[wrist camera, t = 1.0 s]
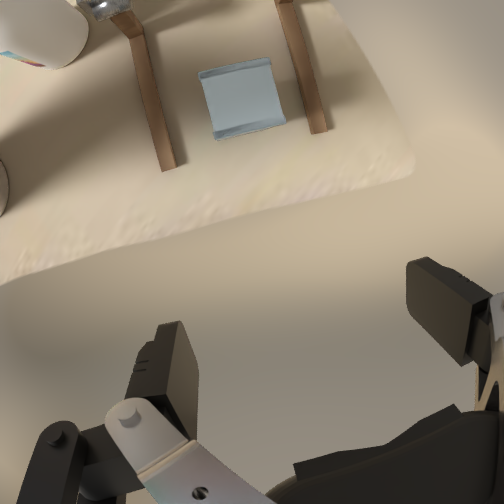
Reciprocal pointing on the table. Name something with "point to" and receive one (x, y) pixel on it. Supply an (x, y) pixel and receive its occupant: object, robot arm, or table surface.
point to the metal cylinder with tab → (105, 7)
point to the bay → (150, 93)
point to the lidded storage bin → (241, 98)
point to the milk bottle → (42, 32)
